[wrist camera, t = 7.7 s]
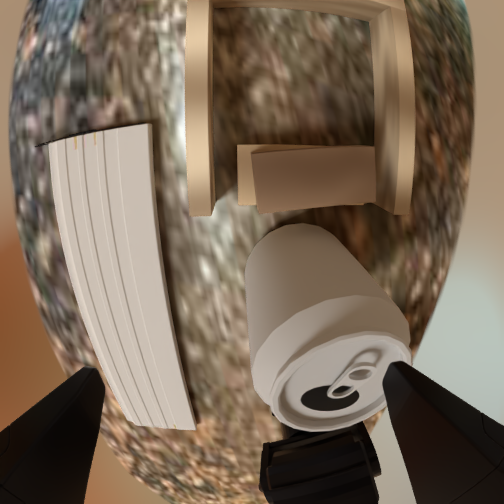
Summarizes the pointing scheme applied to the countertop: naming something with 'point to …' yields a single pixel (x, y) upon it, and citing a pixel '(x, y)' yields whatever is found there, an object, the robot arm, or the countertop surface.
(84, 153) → the baseboard
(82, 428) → the robot arm
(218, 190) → the countertop surface
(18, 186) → the countertop surface
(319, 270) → the can
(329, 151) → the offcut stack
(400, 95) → the rack
